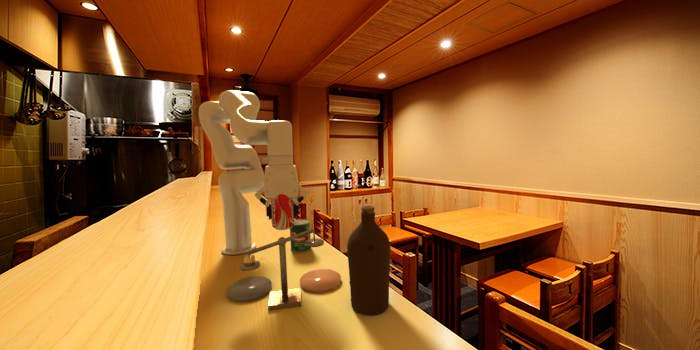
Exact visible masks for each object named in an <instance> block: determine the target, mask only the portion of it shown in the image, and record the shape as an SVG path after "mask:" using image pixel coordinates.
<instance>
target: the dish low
mask: <svg viewBox="0 0 700 350" xmlns="http://www.w3.org/2000/svg"><path fill="white" fill-rule="evenodd" d="M272 287H273V285H272V280H271V279H270V278H268V277H265V276H249V277H248V276H247V277H244V278H242V279H238V280H236V281H234V282H232V283H231V284H229V286H228V287H227V288H226V290H225V291H226V297H227V299H228V300H230V301H232V302H235V303H236V302H237V303H247V302H252V301H256V300H258V299H261V298H263V297H265V296H266V295H268V294H270V292H271V291H272V289H273V288H272ZM270 290H271V291H270ZM267 293H268V294H267Z"/></svg>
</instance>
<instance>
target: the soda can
mask: <svg viewBox="0 0 700 350" xmlns="http://www.w3.org/2000/svg"><path fill="white" fill-rule="evenodd" d="M280 193H283V192H280ZM270 204H271V226H272V228H273V229H275V230H278V231H286V230H290V228H291V227H292V226H294V220H295V218H294V201H293V198H288V196H286V195H285V194H279V195H278V196H276V197H275V198H274V199H271V202H270Z"/></svg>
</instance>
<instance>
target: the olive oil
mask: <svg viewBox="0 0 700 350" xmlns="http://www.w3.org/2000/svg"><path fill="white" fill-rule="evenodd" d="M360 210H361V212H360V220H361V222H360V223H359V225H357V227H356V228H355V229H354V230H353V231H352V232H351V233H350V235H349V236H348V237H349V238H348V239H347V244H346V250H347V262H348V274H349V289H350V304H351V308H352V310H353V311H355V313H358V314H360V315H363V316H377V315H381V314H383V313H385V312H386V311H387V310H388V308H389V305H390V304H389V303H390V269H391V266H390V264H391V242H390V238H389V236H388V234H387V233H386V232H385V231H384V230H383V229H382V228H381V227H380V226H379V225H378V223H377V222H376V212H375V206H373V205H372V206H371V205H364V206H361V209H360Z"/></svg>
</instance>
